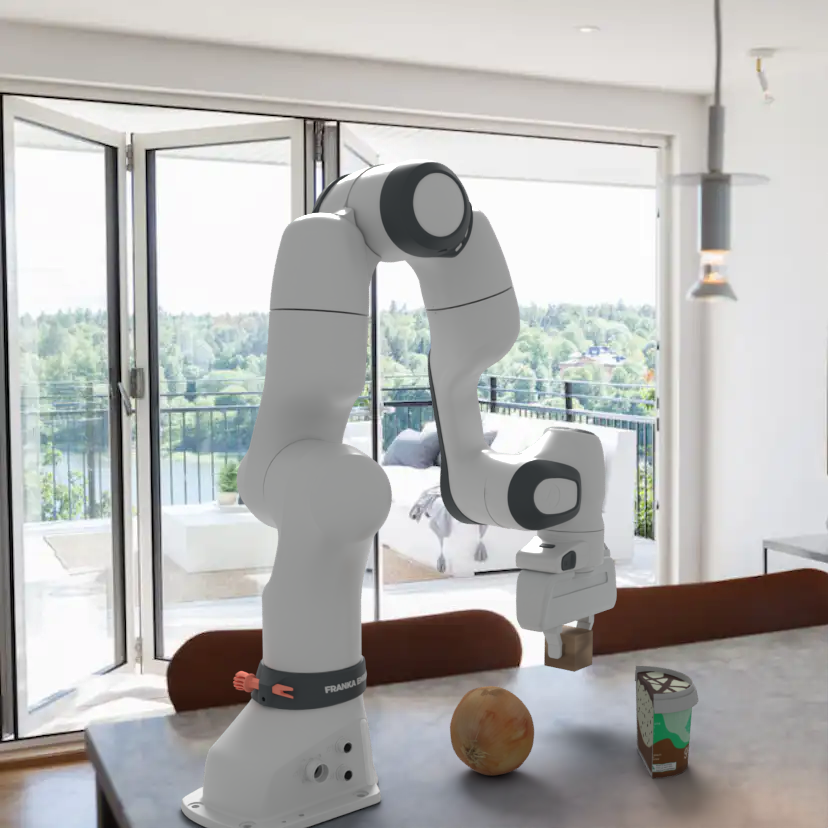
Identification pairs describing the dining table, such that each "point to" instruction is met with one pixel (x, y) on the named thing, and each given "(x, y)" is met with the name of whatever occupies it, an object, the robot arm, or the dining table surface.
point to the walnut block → (573, 649)
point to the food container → (664, 719)
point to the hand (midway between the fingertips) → (568, 652)
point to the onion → (492, 730)
